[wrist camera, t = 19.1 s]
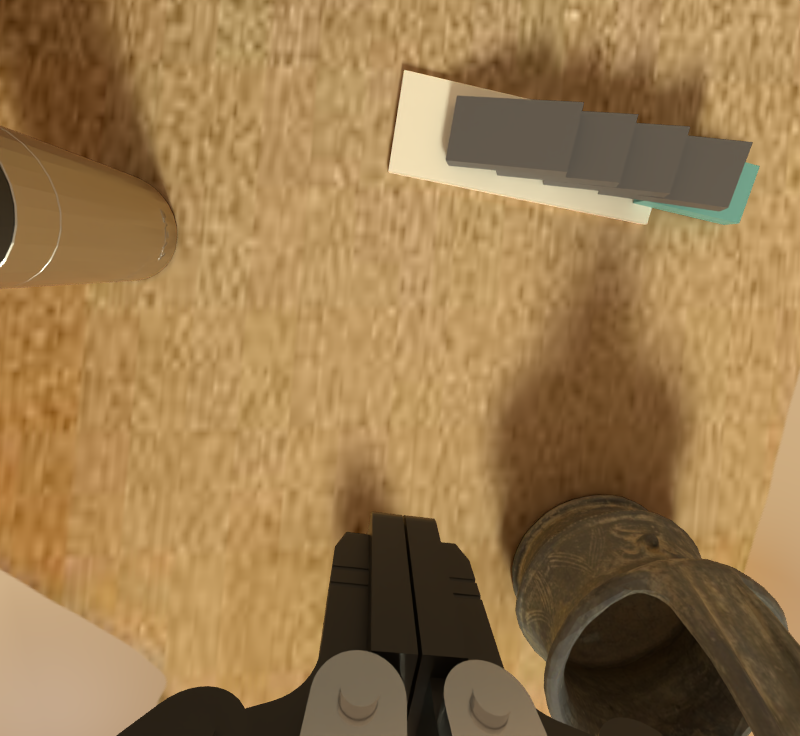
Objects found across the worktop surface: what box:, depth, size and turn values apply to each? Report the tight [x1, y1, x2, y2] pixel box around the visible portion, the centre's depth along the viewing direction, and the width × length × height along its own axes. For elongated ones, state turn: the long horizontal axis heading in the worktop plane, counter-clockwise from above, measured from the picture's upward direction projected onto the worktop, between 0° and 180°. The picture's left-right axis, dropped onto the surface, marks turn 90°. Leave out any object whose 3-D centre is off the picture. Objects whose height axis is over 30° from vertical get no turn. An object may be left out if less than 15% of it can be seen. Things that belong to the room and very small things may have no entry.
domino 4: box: [598, 136, 753, 211], centre depth 35 cm, size 2×5×10 cm
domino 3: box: [543, 123, 690, 198], centre depth 35 cm, size 2×5×10 cm
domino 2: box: [496, 111, 638, 187], centre depth 34 cm, size 2×5×10 cm
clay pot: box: [512, 495, 800, 736], centre depth 34 cm, size 22×23×30 cm
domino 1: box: [446, 96, 584, 177], centre depth 34 cm, size 2×5×10 cm
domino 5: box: [633, 162, 760, 225], centre depth 37 cm, size 2×5×10 cm
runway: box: [388, 70, 652, 225], centre depth 37 cm, size 25×8×1 cm, turn 80°
